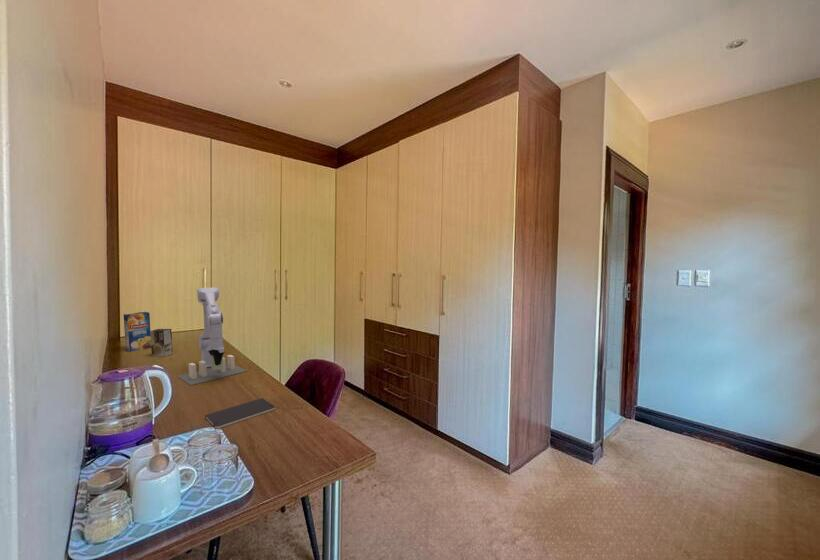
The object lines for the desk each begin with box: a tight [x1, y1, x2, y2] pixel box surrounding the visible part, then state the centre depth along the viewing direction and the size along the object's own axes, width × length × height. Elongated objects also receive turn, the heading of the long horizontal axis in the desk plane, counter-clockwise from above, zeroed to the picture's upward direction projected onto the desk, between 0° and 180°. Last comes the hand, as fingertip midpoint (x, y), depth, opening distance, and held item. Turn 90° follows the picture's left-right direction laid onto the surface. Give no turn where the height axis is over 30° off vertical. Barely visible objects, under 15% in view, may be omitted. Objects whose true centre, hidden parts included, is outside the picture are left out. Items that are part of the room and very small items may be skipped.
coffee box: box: [150, 328, 174, 358], centre depth 209 cm, size 9×6×16 cm
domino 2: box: [198, 360, 207, 377], centre depth 170 cm, size 2×5×7 cm, turn 49°
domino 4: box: [226, 354, 236, 370], centre depth 180 cm, size 2×5×7 cm, turn 49°
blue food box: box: [123, 311, 152, 353], centre depth 224 cm, size 12×8×24 cm, turn 145°
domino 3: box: [218, 357, 227, 372], centre depth 177 cm, size 2×5×7 cm, turn 49°
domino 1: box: [188, 362, 197, 379], centre depth 167 cm, size 2×5×7 cm, turn 49°
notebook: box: [204, 397, 276, 429], centre depth 128 cm, size 13×2×21 cm
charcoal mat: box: [177, 363, 248, 387], centre depth 174 cm, size 20×26×1 cm
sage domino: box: [210, 355, 224, 370], centre depth 168 cm, size 2×5×7 cm, turn 139°
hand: (217, 364), depth 168 cm, fingers closed on sage domino, 2 cm apart
